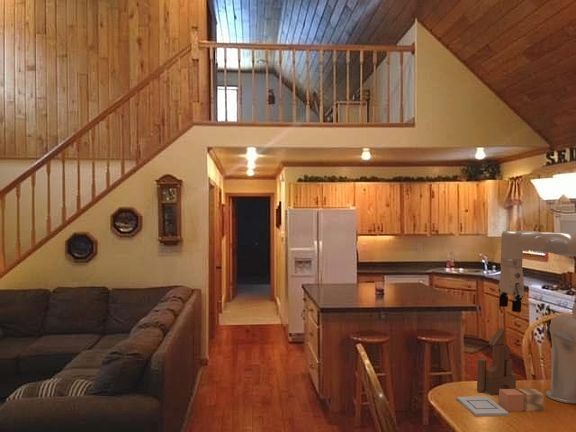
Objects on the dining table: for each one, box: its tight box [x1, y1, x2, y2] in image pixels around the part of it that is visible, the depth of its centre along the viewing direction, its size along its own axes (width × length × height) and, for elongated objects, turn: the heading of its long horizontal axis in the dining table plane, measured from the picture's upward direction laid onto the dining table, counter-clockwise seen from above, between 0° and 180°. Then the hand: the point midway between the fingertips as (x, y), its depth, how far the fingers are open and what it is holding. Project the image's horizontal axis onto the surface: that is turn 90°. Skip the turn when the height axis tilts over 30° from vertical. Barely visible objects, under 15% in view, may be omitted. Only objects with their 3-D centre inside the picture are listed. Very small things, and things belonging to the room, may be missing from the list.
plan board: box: [456, 395, 510, 417], centre depth 188 cm, size 12×16×1 cm
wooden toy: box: [476, 327, 517, 396], centre depth 206 cm, size 16×7×25 cm, turn 118°
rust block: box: [498, 388, 524, 412], centre depth 188 cm, size 6×6×6 cm
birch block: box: [518, 388, 545, 412], centre depth 189 cm, size 6×6×6 cm
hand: (509, 309), depth 196 cm, fingers open, 9 cm apart
